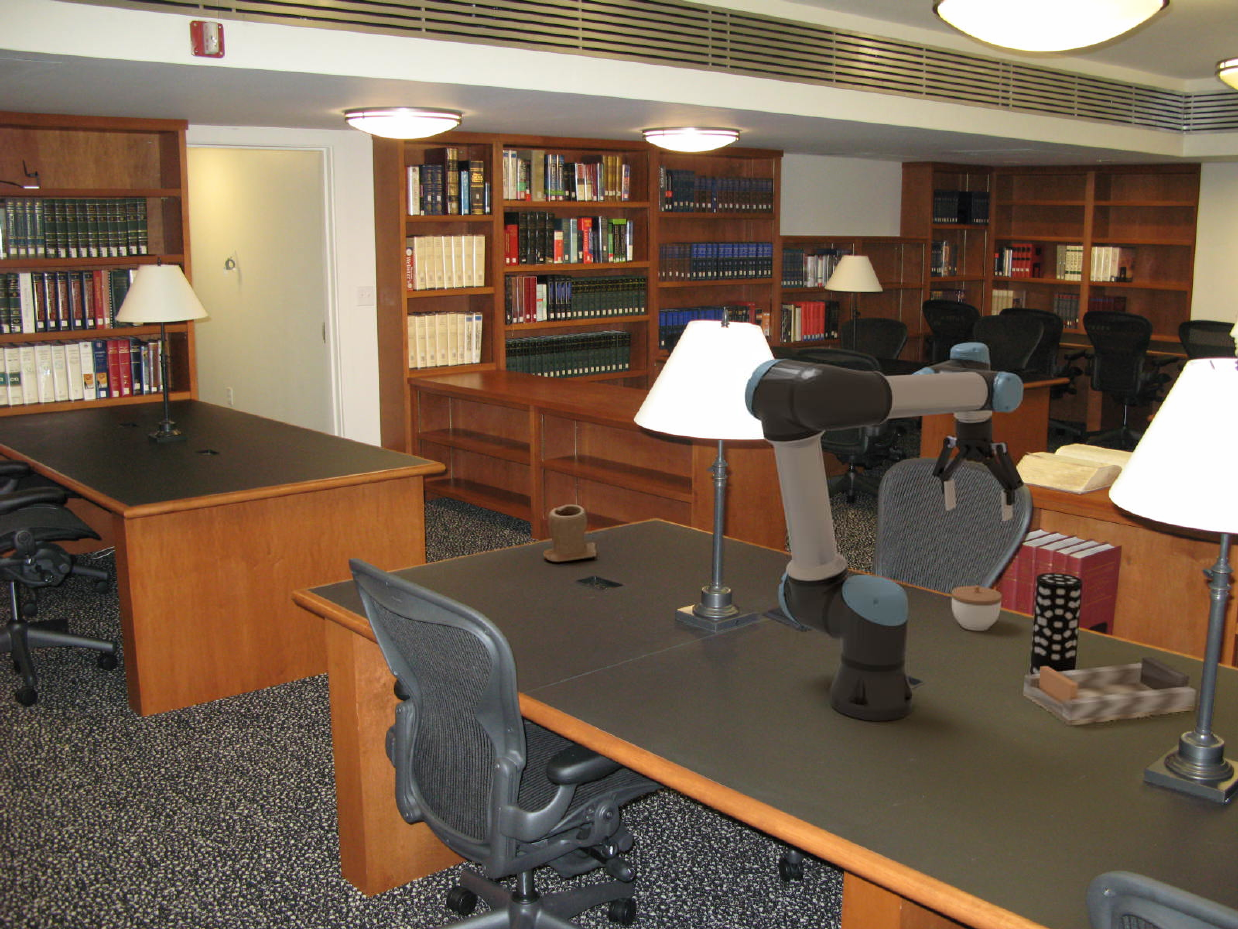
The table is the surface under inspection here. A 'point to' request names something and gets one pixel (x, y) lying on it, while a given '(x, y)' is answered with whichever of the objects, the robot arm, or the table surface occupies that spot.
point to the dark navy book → (783, 618)
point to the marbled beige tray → (1117, 692)
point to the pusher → (1057, 685)
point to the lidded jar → (976, 607)
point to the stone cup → (568, 534)
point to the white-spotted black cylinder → (1055, 622)
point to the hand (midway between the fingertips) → (978, 513)
